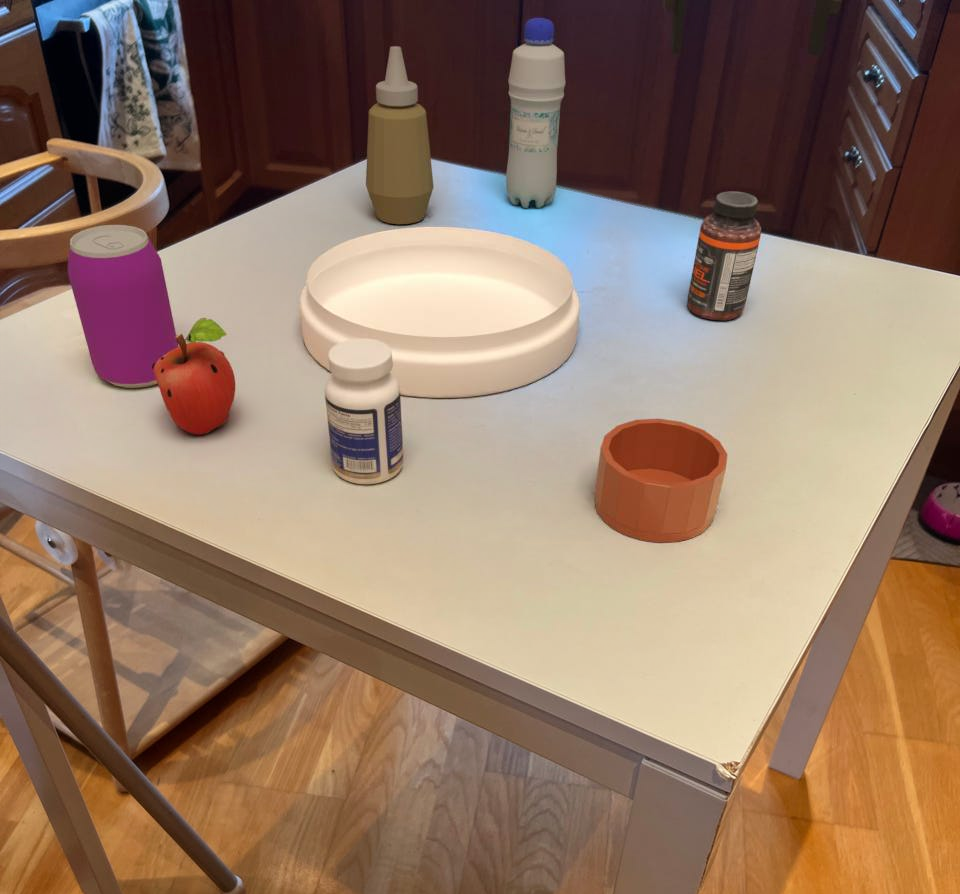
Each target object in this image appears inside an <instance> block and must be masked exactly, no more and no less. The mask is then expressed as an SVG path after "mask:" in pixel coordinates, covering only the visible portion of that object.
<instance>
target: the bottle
mask: <svg viewBox="0 0 960 894" xmlns="http://www.w3.org/2000/svg"><path fill="white" fill-rule="evenodd" d="M523 33H524V34H523V39H524V40H523V41H524V42H525V43H522V44H521V45H520V46H517V47H516V48H515V49H514V50H513V51H512V56H511V63H510V69H509V75H508V76H509V77H508V81H507V82H508V86H509V87H508V89H509V90H508V95H509V98H510V114H509V115H510V117H509V140H508V158H507V164H506V165H507V166H506V173H505V174H506V176H505V187H506V193H507V197H508V199H509V202H510V203H511V204H512V205H514V206H517V205H519V203H520V204H521V206H522V208H524V209H528V208H529V206H530V202H531V201H535V207H536V208H537V209H540V208H542V207H543V206H544V205H546V206H547V205H549V204H551V202H552V201H553V200H554V197H555V194H556V188H557V175H558V165H557V164H558V157H557V156H558V145H559V129H560V118H561V117H560V116H561V115H560V114H561V104H562V103H561V102H562V100H563V99H564V97H565V91H564V90H565V87H566V84H567V83H566V71H565V70H566V67H565V65H566V64H565V53H564V51H563V50H562V49H561V48H559V47H557V46H556V45H555V44H553V42H554V39H555V38H554V37H555V36H554V35H555V26H554V23H553V21H552V20H550V19H548V18H545V17H533V18H530V19H528V20H527V21H526V22H525V24H524V32H523Z"/></svg>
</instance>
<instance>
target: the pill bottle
mask: <svg viewBox="0 0 960 894" xmlns="http://www.w3.org/2000/svg"><path fill="white" fill-rule="evenodd" d="M328 358H329V368H330V371H329V372H330V373H331V375H330V376H329V378H327V380H326V382H325V386H324V400H325V409H326V417H327V427H328V436H329V437H328V438H329V444H330V445H329V446H330V455H331V463H332V468H333V470H334V472H335V473H336V475H337V476H339V477H340V478H341V479H343V480H345V481H347V482H350V483H352V484H358V485H374V484H379V483H383V482H386V481H388V480H390V479H392V478H394V477H395V476H396V475H398V473H400V471H401V470H402V468H403V464H404V443H403V442H404V441H403V423H402V400H401V395H400V386H399V383H398V380H397V379H396V377H395V376H394V375H393V374H392V373H391V372H390V371H391V370H392V367H393V362H392V352H391V349H390V347H389V346H388V345H387V344H385V343H383V342H381V341H378V340H374V339H364V338H362V339H351V340H346V341H343V342H341V343H338V344H336V345H335V346H333V347H332V348H331V349H330V351H329V354H328Z"/></svg>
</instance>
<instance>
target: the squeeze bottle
mask: <svg viewBox="0 0 960 894" xmlns="http://www.w3.org/2000/svg"><path fill="white" fill-rule="evenodd" d="M418 93H419V90H418V85H417V83H415V82H413V81H410V80H409V79H408V74H407V70H406V66H405V61H404V57H403V51H402V47H401V46H397V45H396V46H390V48H389V53H388V60H387V66H386V71H385V79H384V80H382V81H379V82H377V84H376V85H375V95H376V96H375V97H376V103H374V104H373V106H372V107H371V108H369V110H368V121H367V124H368V125H367V147H366V171H365V186H366V190H367V193H368V196H369V198H370V201H371V204H372V207H373V209H374V212H375V215H376V218H377V219H378V220H379V221H381V222H383V223H384V222H385V223H388V224H392V225H393V224H394V225H410V224H415V223H418V222H420V221H422V220H423V219H424V218H425V216H426V214H427V211H428V208H429V204H430V201H431V196H432V193H433V190H434V186H435V185H434V178H433V167H432V157H431V148H430V147H431V145H430V137H429V127H428V118H427V111H426V109H425V108H424V107H423V106H422V105H421V104H419V103H417V102H418V101H419V97H418V96H419V95H418Z"/></svg>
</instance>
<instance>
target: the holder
mask: <svg viewBox="0 0 960 894" xmlns="http://www.w3.org/2000/svg"><path fill="white" fill-rule="evenodd" d="M598 457H599V458H598V467H597V474H596V482H595V489H594V506H595V510H596V512H597V514H598V516H599V517H600V519H601V520H602V521H603V522H605V524H606V525H607V526H609V527H610V528H612V529H613V530H615V531H617V532H618V533H620V534H622V535H624V536H627V537H630V538H634V539H636V540H640V541H644V542H651V543H662V544H663V543H666V544H667V543H678V542H683V541H687V540H691V539H693V538H696V537H698V536H699V535H701V534H703V533H704V532H705V531H707V530H708V528H710V526H711V525H712V523H713V521H714V518H715V515H716V512H717V507H718V503H719V499H720V494H721V490H722V486H723V483H724V478H725V473H726V471H727V470H726V469H727V464H728V453H727V451H726V449H725V448H724V446H723V444H722V443H721V441H720V440H719V439H717V438H716V437H714V436H713V435H712V434H710V433H709V432H707V431H706V430H704V429H702V428H700V427H698V426H694V425H691V424H688V423H686V422H684V421H683V422H682V421H679V420H672V419H671V420H670V419H665V418H642V419H641V418H640V419H634V420H630V421H628V422H627V421H626V422H623V423H621V424H617V425H616V426H615V427H613V428H612V429H611V430H610V431H608V432H607V433H606V434H605V435H603V439H602V443H601V446H600V451H599V456H598Z"/></svg>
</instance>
